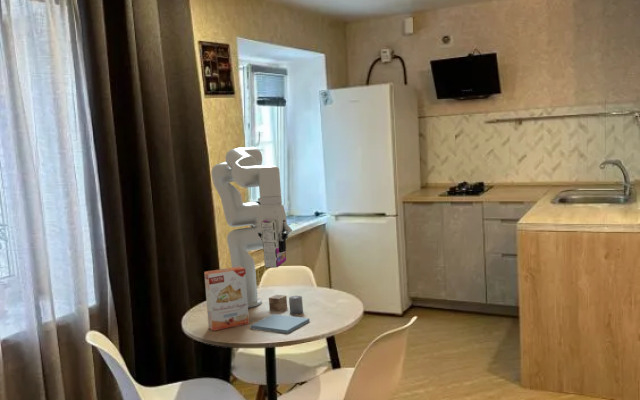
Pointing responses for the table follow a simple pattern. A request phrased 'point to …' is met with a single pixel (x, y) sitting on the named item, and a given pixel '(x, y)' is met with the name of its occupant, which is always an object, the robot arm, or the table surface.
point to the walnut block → (278, 302)
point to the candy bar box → (271, 245)
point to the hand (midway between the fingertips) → (274, 250)
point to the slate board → (280, 323)
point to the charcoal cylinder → (296, 305)
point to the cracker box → (226, 298)
